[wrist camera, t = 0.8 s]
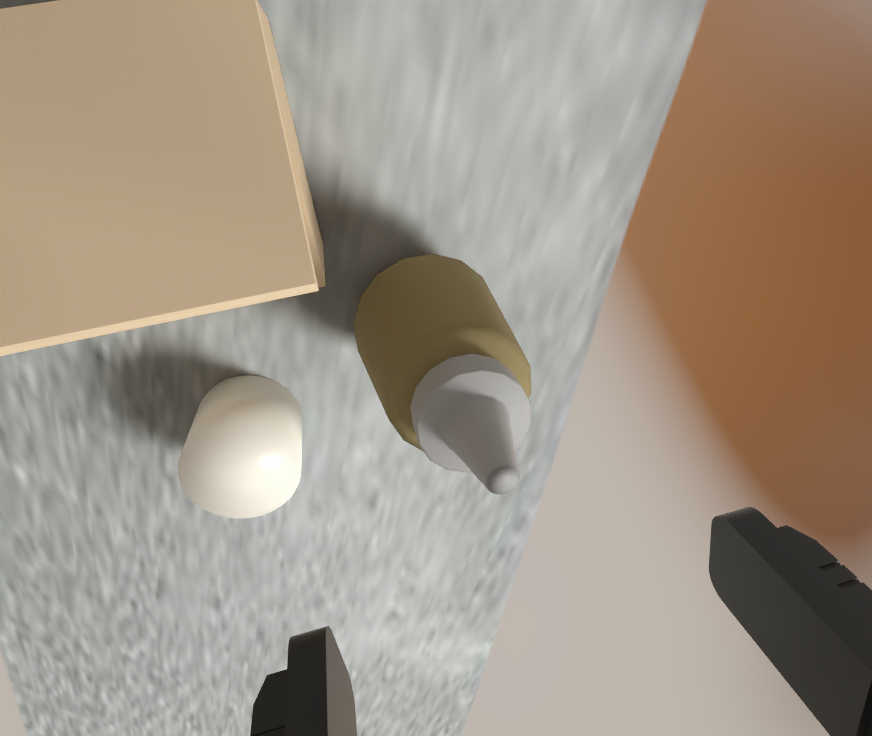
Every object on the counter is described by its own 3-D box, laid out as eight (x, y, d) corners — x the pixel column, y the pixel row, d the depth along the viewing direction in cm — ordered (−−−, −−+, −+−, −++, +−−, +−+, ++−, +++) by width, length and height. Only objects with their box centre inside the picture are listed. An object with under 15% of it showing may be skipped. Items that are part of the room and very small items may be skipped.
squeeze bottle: (351, 235, 32) (387, 369, 16) (488, 241, 34) (641, 368, 18) (348, 365, 36) (375, 582, 20) (473, 364, 37) (591, 564, 21)
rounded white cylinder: (181, 388, 34) (159, 436, 29) (287, 365, 35) (283, 408, 30) (216, 472, 37) (201, 529, 32) (313, 450, 38) (313, 502, 33)
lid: (-115, 46, 19) (-137, 28, 18) (255, -9, 20) (249, -28, 19) (-80, 372, 17) (-103, 368, 17) (318, 290, 19) (315, 283, 18)
